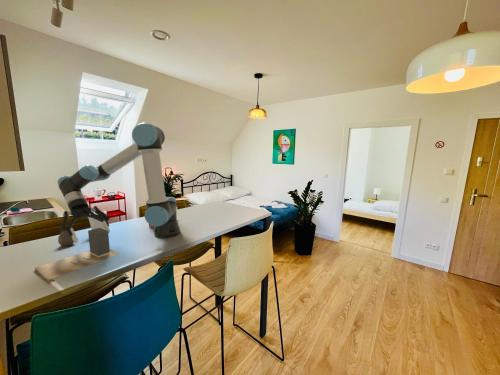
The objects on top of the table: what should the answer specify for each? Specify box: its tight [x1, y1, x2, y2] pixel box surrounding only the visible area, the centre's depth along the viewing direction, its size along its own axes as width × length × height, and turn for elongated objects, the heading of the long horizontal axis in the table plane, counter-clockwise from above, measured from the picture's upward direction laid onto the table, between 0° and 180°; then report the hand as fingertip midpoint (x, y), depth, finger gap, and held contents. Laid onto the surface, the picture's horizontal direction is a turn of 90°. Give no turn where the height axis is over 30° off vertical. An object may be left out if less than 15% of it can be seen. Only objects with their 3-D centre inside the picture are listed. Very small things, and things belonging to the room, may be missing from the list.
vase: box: [57, 231, 75, 248], centre depth 113 cm, size 7×7×9 cm
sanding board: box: [34, 248, 120, 283], centre depth 95 cm, size 26×16×1 cm, turn 149°
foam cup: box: [87, 210, 108, 230], centre depth 130 cm, size 10×9×13 cm
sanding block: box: [87, 228, 111, 258], centre depth 101 cm, size 8×5×11 cm, turn 59°
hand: (93, 236), depth 102 cm, fingers open, 13 cm apart
